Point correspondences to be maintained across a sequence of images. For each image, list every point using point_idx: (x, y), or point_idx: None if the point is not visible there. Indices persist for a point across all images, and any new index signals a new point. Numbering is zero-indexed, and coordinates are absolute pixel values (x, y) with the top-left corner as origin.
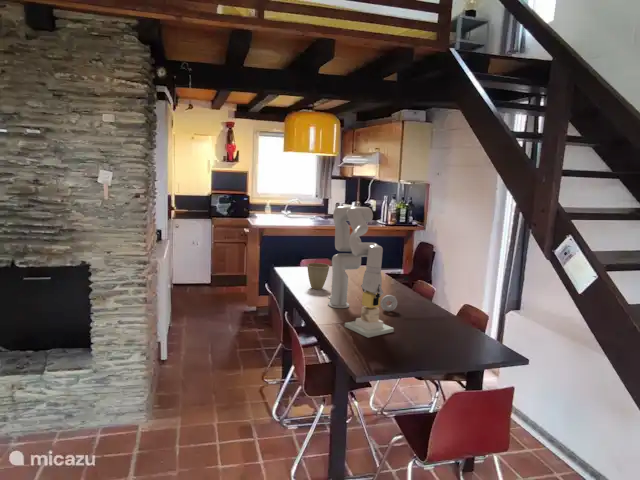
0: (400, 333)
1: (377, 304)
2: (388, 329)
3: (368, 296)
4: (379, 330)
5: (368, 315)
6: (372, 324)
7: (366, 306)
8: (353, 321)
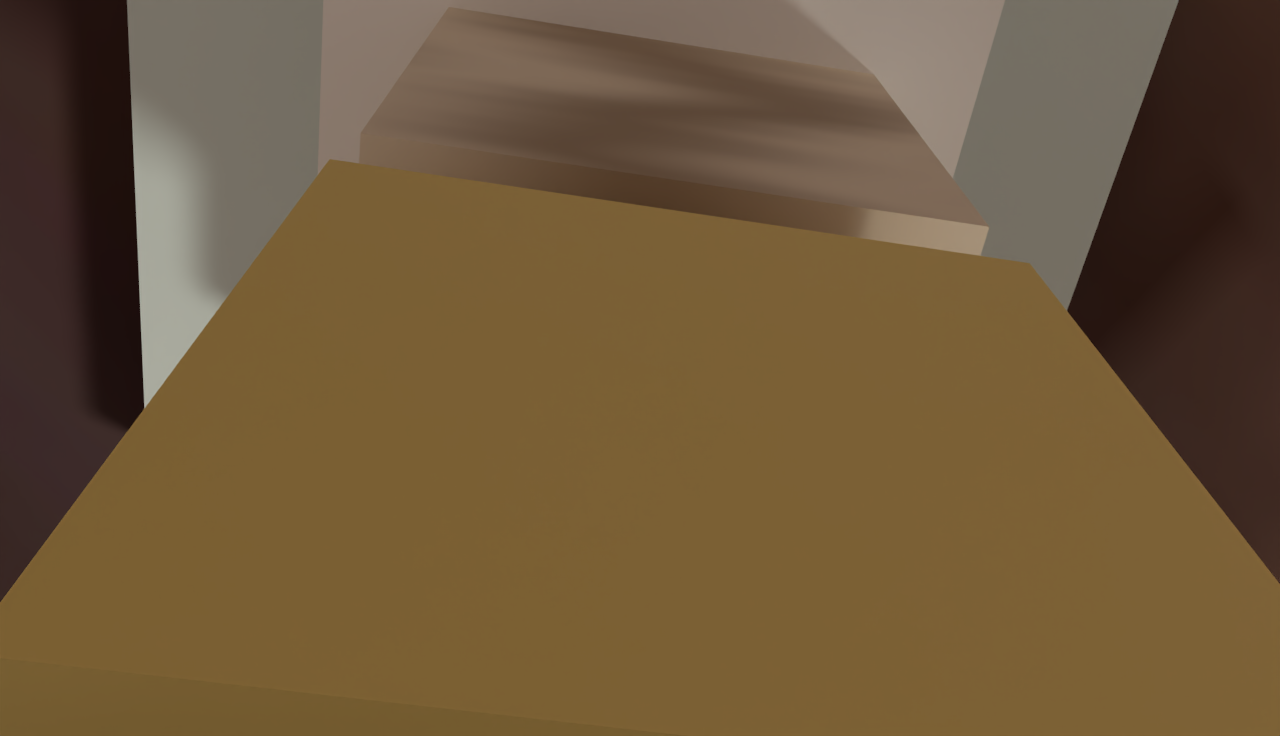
0: (34, 498)
1: None
2: (144, 349)
3: (487, 565)
4: (182, 87)
5: (493, 76)
6: (329, 18)
7: None
8: (1137, 74)
